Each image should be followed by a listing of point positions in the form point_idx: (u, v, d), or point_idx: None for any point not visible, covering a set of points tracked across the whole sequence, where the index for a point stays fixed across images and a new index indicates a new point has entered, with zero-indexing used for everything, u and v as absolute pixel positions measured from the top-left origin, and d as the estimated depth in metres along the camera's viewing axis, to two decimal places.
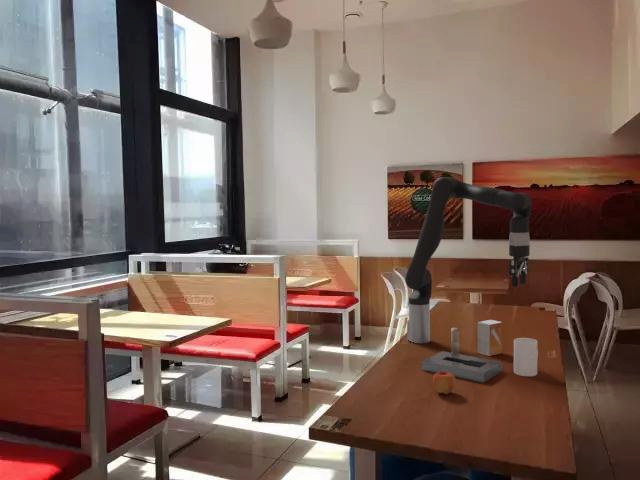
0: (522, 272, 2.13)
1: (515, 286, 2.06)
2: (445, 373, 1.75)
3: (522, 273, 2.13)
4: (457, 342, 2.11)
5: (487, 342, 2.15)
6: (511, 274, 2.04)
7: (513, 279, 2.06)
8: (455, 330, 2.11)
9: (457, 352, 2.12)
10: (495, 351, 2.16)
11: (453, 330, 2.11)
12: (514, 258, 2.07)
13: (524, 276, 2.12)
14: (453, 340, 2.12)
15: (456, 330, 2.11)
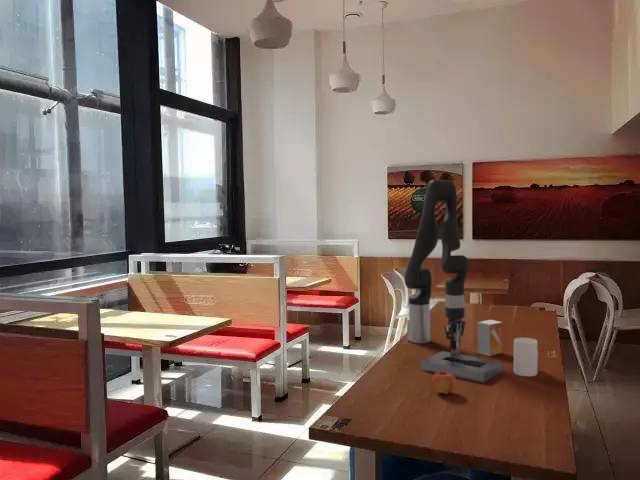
0: None
1: (453, 349, 2.11)
2: (445, 373, 1.75)
3: None
4: (457, 342, 2.11)
5: (487, 342, 2.15)
6: (449, 338, 2.09)
7: (451, 342, 2.11)
8: None
9: (457, 352, 2.12)
10: (495, 351, 2.16)
11: None
12: (449, 320, 2.10)
13: None
14: None
15: None
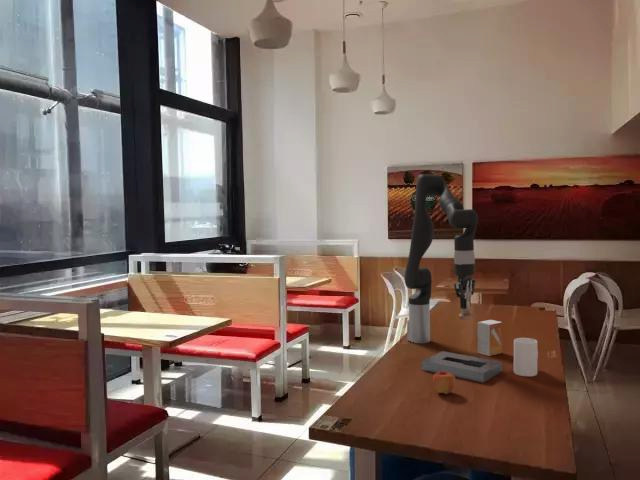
0: None
1: (463, 308, 2.00)
2: (445, 373, 1.75)
3: None
4: (468, 301, 2.01)
5: (487, 342, 2.15)
6: (459, 296, 1.99)
7: (461, 301, 2.00)
8: None
9: (468, 311, 2.01)
10: (495, 351, 2.16)
11: None
12: (459, 277, 1.99)
13: None
14: None
15: None
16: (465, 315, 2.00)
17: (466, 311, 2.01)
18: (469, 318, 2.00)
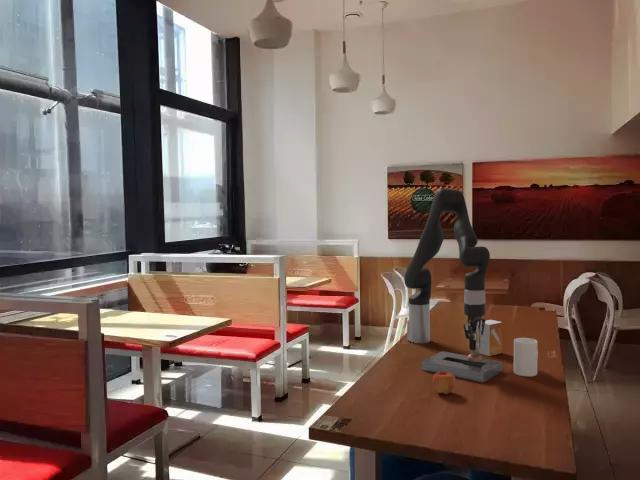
0: None
1: (473, 349, 1.92)
2: (445, 373, 1.75)
3: None
4: (477, 342, 1.92)
5: (487, 342, 2.15)
6: (468, 337, 1.90)
7: (470, 342, 1.92)
8: None
9: (477, 353, 1.92)
10: (495, 351, 2.16)
11: None
12: (468, 318, 1.90)
13: None
14: None
15: None
16: (474, 357, 1.92)
17: (475, 353, 1.92)
18: (478, 360, 1.91)
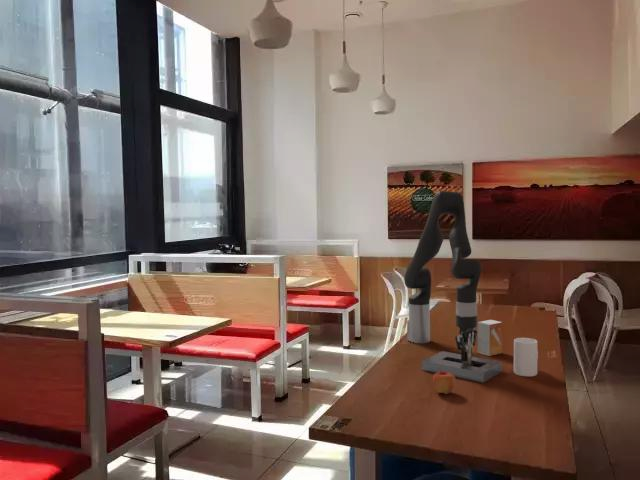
0: None
1: None
2: (445, 373, 1.75)
3: None
4: (469, 353, 1.95)
5: (487, 342, 2.15)
6: (460, 349, 1.93)
7: (462, 353, 1.94)
8: None
9: (469, 364, 1.95)
10: (495, 351, 2.16)
11: None
12: (460, 329, 1.93)
13: None
14: None
15: None
16: None
17: (467, 364, 1.95)
18: None
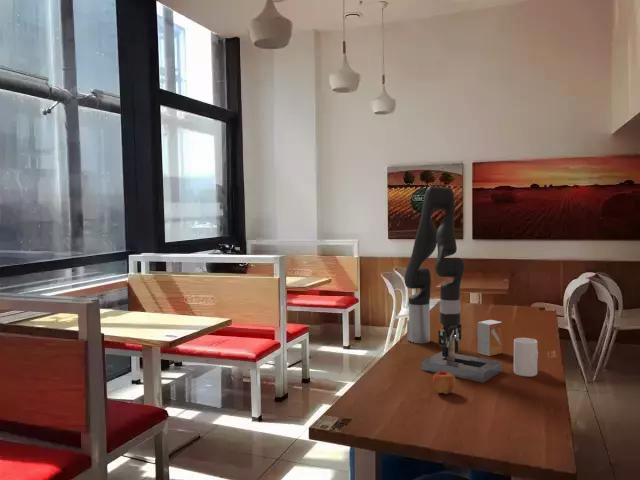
0: None
1: (445, 356, 1.97)
2: (445, 373, 1.75)
3: None
4: (452, 351, 1.99)
5: (487, 342, 2.15)
6: (440, 344, 1.95)
7: (443, 349, 1.96)
8: None
9: None
10: (495, 351, 2.16)
11: None
12: (444, 326, 1.97)
13: (456, 344, 2.02)
14: None
15: None
16: None
17: None
18: None
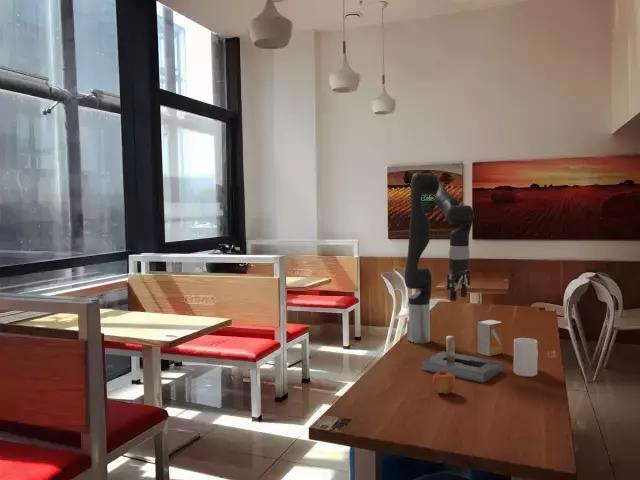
0: (463, 285, 2.10)
1: (453, 300, 2.03)
2: (445, 373, 1.75)
3: (463, 286, 2.10)
4: (452, 351, 1.99)
5: (487, 342, 2.15)
6: (449, 288, 2.02)
7: (451, 293, 2.03)
8: (450, 338, 1.98)
9: None
10: (495, 351, 2.16)
11: (448, 338, 1.99)
12: (453, 272, 2.04)
13: (465, 289, 2.09)
14: (448, 349, 1.99)
15: (451, 338, 1.98)
16: None
17: None
18: None
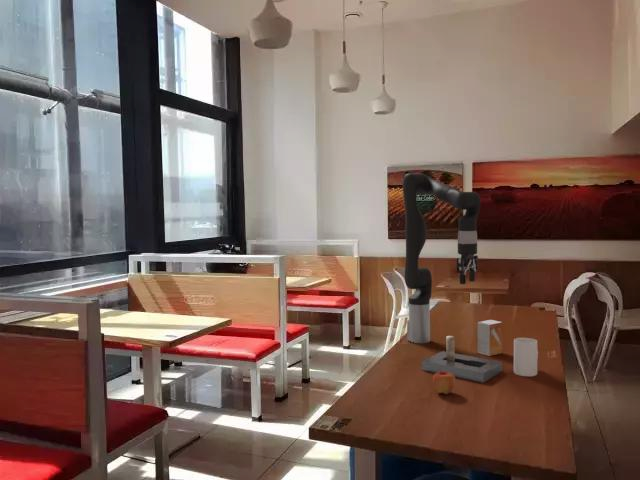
0: (471, 270, 2.16)
1: (463, 283, 2.09)
2: (445, 373, 1.75)
3: (471, 271, 2.16)
4: (452, 351, 1.99)
5: (487, 342, 2.15)
6: (458, 272, 2.08)
7: (461, 277, 2.09)
8: (450, 338, 1.98)
9: None
10: (495, 351, 2.16)
11: (448, 338, 1.99)
12: (462, 256, 2.10)
13: (473, 274, 2.15)
14: (448, 349, 1.99)
15: (451, 338, 1.98)
16: None
17: None
18: None
